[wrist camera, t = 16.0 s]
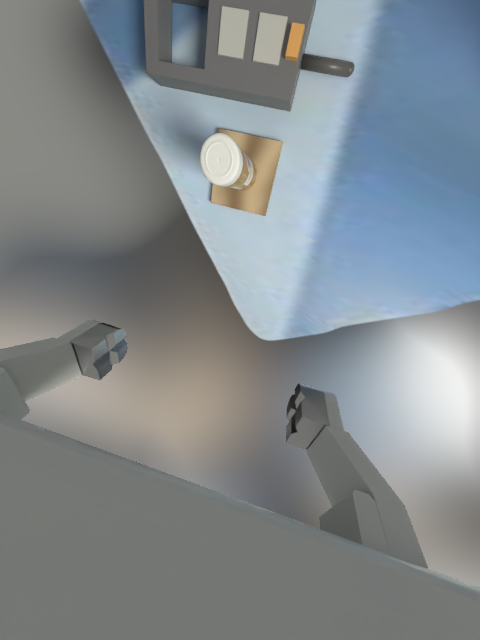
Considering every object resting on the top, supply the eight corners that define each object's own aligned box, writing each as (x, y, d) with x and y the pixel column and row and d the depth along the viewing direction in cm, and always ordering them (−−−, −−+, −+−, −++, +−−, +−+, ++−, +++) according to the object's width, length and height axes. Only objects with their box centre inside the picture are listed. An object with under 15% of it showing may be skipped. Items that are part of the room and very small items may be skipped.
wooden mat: (282, 143, 31) (282, 141, 30) (265, 215, 36) (265, 215, 35) (220, 129, 31) (218, 128, 31) (212, 202, 37) (210, 202, 36)
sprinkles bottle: (262, 177, 33) (247, 164, 21) (240, 197, 35) (216, 195, 23) (246, 148, 31) (221, 118, 20) (224, 170, 33) (190, 155, 22)
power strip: (371, 15, 23) (386, -19, 20) (336, 120, 28) (343, 108, 25) (159, -18, 25) (137, -54, 22) (160, 85, 30) (142, 69, 27)
